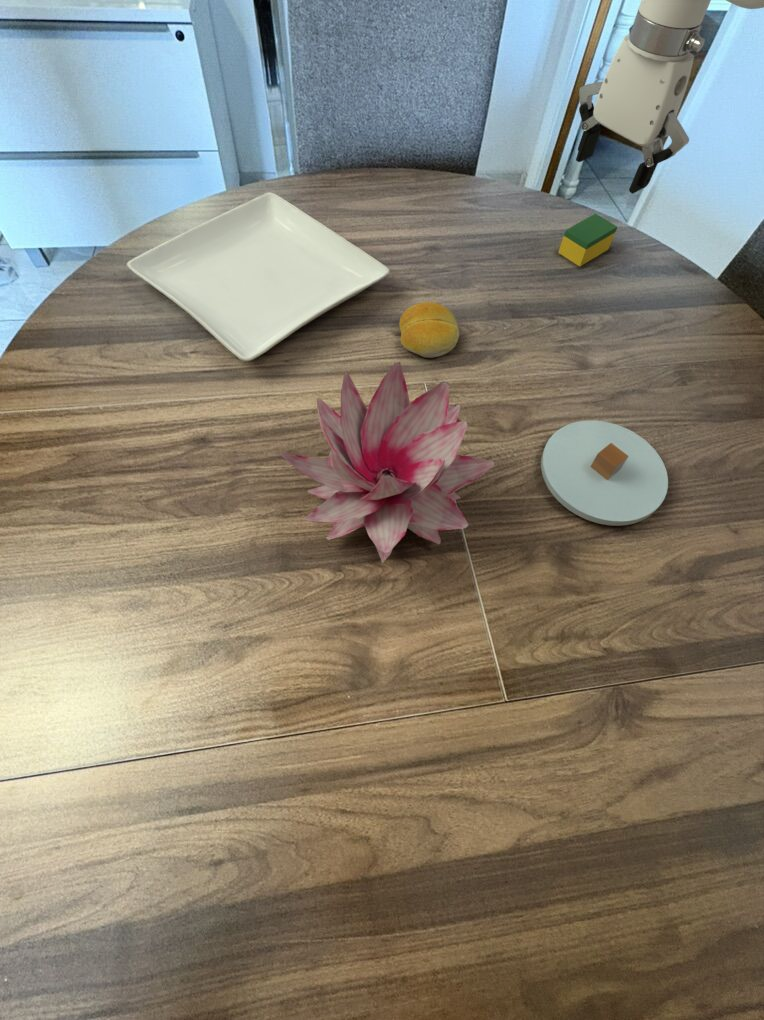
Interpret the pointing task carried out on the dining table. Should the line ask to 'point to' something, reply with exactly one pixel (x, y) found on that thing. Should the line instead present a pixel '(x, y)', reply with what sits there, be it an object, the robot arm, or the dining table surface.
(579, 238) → the sponge
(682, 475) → the dining table surface
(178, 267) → the square plate
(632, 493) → the plate
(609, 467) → the small brown block
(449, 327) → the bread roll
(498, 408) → the dining table surface
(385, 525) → the decorative flower
